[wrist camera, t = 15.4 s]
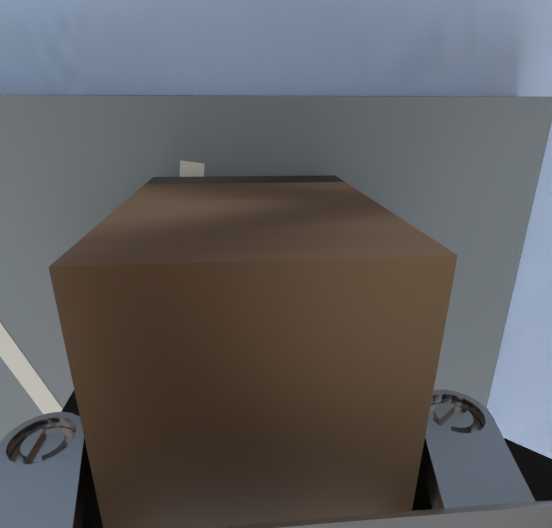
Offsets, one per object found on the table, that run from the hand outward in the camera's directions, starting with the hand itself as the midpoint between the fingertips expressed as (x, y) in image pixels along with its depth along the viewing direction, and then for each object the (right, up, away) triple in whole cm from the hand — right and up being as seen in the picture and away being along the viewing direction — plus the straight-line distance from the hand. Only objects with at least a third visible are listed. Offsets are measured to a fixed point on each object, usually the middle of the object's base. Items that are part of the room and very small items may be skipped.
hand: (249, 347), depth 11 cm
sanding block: (0, 0, +1) cm, 1 cm away
